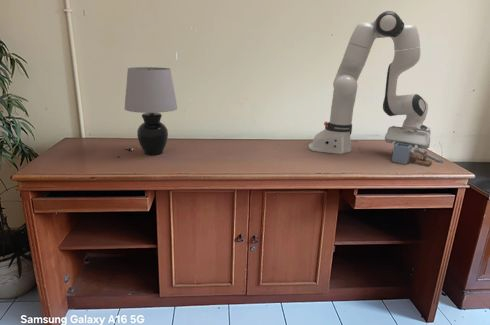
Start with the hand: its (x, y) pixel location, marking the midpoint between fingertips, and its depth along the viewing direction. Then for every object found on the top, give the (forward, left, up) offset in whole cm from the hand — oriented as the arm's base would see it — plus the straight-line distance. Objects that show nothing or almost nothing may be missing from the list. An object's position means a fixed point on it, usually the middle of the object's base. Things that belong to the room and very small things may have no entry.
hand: (402, 151), depth 170 cm
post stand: (+10, -2, -5) cm, 11 cm away
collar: (0, -1, -4) cm, 4 cm away
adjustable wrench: (+16, +14, -5) cm, 22 cm away
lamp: (-119, -13, -5) cm, 120 cm away
